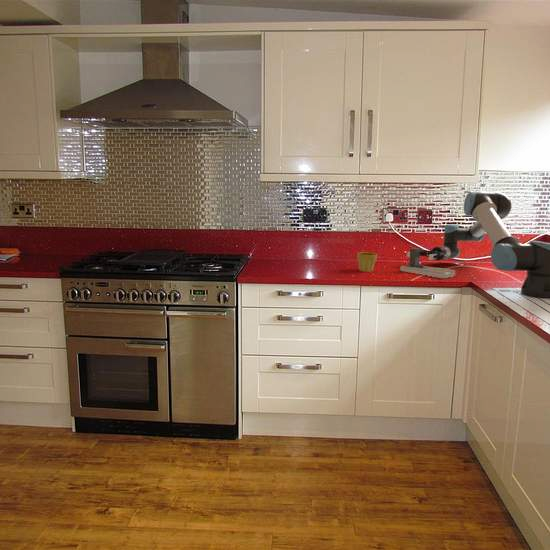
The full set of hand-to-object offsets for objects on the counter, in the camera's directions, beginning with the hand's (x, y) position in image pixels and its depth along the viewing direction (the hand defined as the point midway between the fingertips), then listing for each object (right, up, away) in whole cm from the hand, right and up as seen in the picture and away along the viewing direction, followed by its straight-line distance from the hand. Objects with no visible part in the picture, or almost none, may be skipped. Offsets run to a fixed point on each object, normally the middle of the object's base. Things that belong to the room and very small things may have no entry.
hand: (418, 256), depth 273 cm
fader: (-3, -6, -2) cm, 7 cm away
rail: (+2, -10, -8) cm, 13 cm away
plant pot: (-28, -9, -2) cm, 30 cm away
